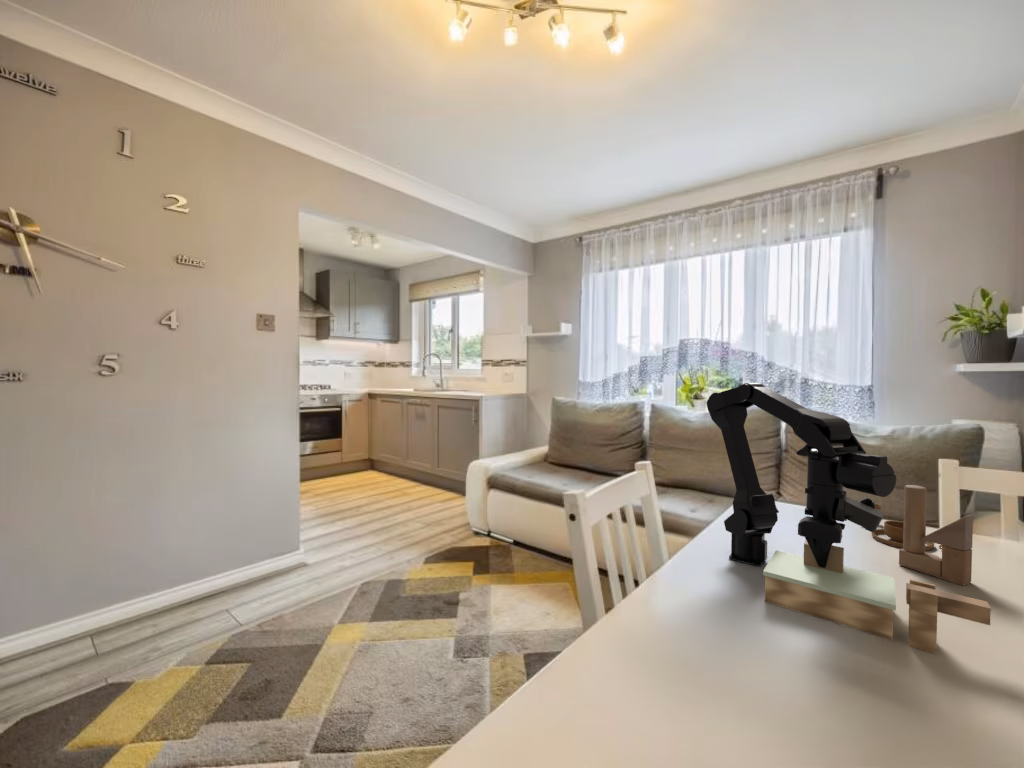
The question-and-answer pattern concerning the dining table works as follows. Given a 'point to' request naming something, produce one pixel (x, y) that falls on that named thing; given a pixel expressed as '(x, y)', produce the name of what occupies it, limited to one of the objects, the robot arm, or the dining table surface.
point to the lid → (833, 577)
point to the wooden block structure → (935, 541)
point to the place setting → (895, 533)
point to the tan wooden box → (861, 610)
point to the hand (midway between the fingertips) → (823, 563)
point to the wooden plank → (956, 605)
